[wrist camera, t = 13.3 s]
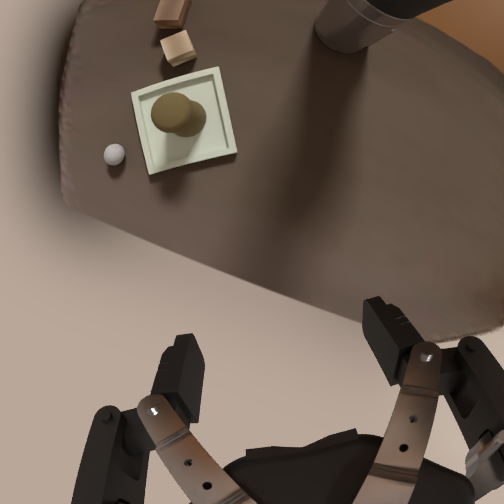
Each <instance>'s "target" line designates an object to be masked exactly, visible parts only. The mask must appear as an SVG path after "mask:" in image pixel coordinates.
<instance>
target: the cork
mask: <svg viewBox="0 0 504 504" xmlns="http://www.w3.org/2000/svg"><path fill="white" fill-rule="evenodd" d="M206 117H207V116H206V112H205V109H204V108H203V106H202V105H201V104H199V103H198V102H196V101H193V100H190V99H189V98H188V97H186V96H185V95H184V94H181V93H178V92H170V93H167V94H164V95H162V96H161V97H159V98H158V99H157V100H156V101H155V102H154V104H153V106H152V109H151V119H152V122H153V124H154V125H155V127H156V128H157V129H159V130H160V131H162V132H165V133H174V134H176V135H178V136H180V137H191V136H194V135H196V134H198V133H199V132H200V131H201V130H202V129H203V127H204V125H205V123H206Z"/></svg>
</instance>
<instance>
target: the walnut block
mask: <svg viewBox="0 0 504 504" xmlns="http://www.w3.org/2000/svg"><path fill="white" fill-rule="evenodd" d="M191 3H192V1H191V0H161V1H160V3H159V6H158V9H157V11H156V14H155V17H154V20H153V21H154V22H155V23H156V24H157V26H158V27H159V28H160V29H183V26H184V23H185V20H186V17H187V14H188V11H189V8H190V6H191Z"/></svg>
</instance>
